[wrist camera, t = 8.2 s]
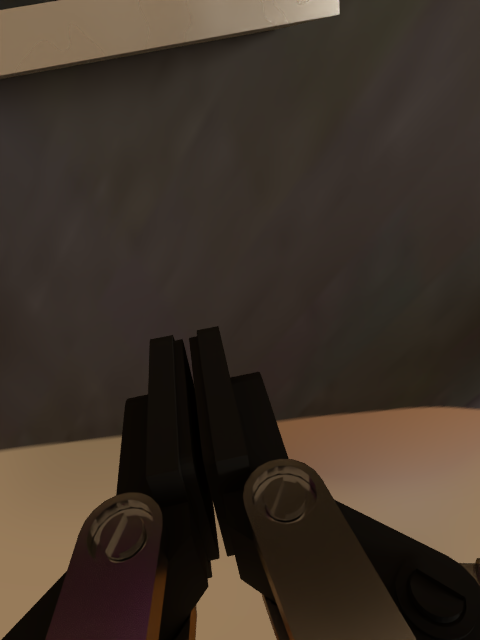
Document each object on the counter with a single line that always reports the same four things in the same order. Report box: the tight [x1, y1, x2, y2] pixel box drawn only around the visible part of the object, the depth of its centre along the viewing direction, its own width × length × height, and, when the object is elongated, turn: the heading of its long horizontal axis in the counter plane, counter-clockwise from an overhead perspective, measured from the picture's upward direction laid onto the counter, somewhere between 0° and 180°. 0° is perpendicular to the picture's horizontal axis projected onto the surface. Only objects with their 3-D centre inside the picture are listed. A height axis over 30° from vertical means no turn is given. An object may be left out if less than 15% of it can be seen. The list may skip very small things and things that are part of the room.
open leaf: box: [0, 0, 339, 79], centre depth 12 cm, size 15×1×4 cm, turn 99°
